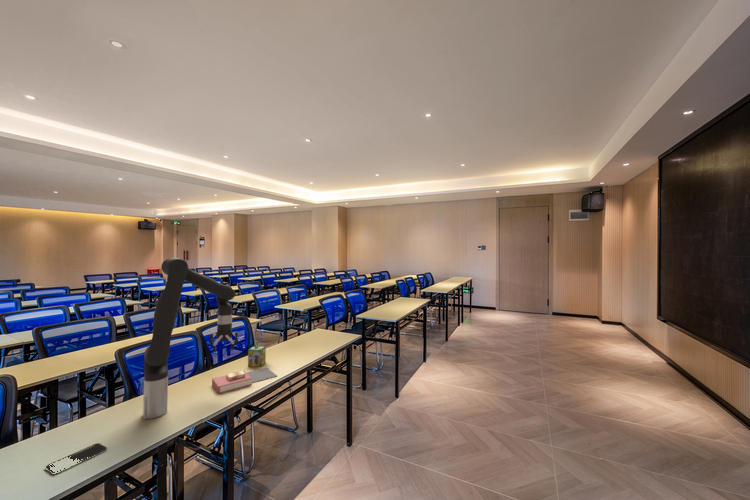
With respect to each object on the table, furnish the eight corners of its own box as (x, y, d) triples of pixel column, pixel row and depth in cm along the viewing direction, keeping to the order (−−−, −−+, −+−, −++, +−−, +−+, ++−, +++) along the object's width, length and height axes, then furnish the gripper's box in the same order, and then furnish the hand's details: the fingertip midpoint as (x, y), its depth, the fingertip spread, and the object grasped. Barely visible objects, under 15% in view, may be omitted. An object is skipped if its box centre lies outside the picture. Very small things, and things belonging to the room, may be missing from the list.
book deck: (218, 393, 162) (218, 386, 162) (211, 385, 173) (212, 378, 173) (251, 384, 174) (251, 377, 174) (244, 377, 185) (244, 370, 185)
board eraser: (228, 381, 170) (229, 377, 170) (226, 377, 174) (226, 374, 174) (245, 376, 176) (245, 373, 176) (242, 373, 180) (242, 370, 180)
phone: (44, 466, 105) (98, 442, 118) (44, 469, 105) (97, 445, 118) (53, 473, 102) (108, 448, 115) (53, 477, 102) (108, 451, 115)
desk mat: (251, 383, 176) (251, 382, 176) (241, 374, 189) (241, 373, 189) (277, 376, 186) (277, 375, 187) (266, 368, 200) (266, 367, 200)
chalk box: (260, 367, 202) (261, 345, 202) (247, 366, 202) (247, 345, 202) (266, 362, 211) (266, 341, 211) (253, 362, 211) (253, 341, 212)
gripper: (210, 324, 163) (208, 354, 162) (238, 322, 169) (237, 351, 168) (211, 322, 170) (209, 350, 169) (238, 320, 176) (237, 347, 175)
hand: (223, 351), depth 169 cm, fingers open, 8 cm apart
